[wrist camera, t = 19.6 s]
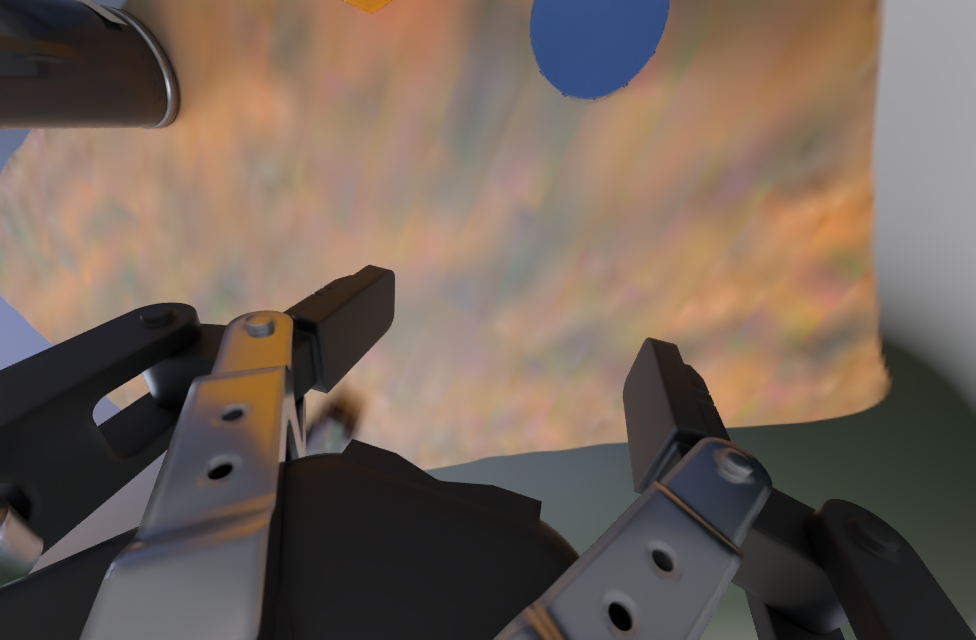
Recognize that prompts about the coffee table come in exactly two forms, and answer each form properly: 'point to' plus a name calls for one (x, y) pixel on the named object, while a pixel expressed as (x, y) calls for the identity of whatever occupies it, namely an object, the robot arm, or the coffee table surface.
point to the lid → (594, 42)
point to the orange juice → (368, 4)
